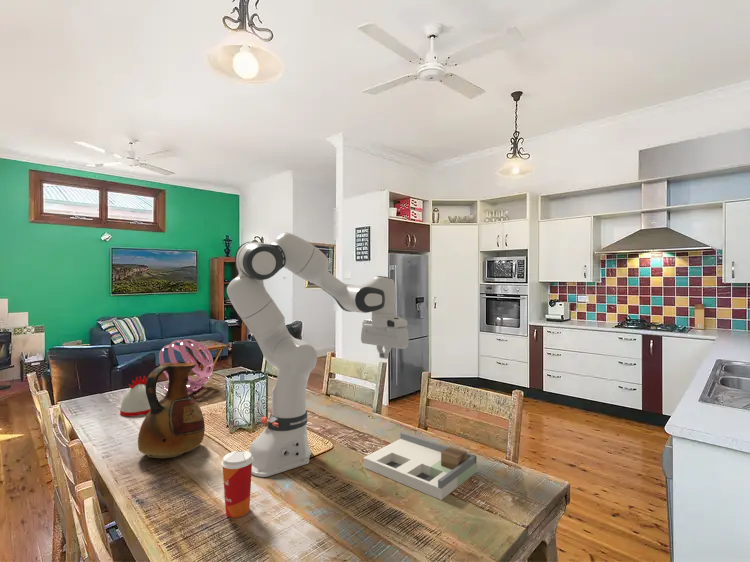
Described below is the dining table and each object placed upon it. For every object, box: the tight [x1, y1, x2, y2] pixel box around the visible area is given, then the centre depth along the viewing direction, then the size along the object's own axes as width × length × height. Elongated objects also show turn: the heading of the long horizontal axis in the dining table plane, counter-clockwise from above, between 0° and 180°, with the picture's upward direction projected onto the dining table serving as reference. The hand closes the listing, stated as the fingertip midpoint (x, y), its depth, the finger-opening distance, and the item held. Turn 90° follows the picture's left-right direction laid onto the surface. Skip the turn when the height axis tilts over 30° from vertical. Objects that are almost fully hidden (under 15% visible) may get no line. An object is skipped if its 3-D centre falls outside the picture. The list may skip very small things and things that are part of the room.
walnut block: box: [441, 446, 468, 470], centre depth 120 cm, size 6×6×4 cm
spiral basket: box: [158, 338, 214, 394], centre depth 206 cm, size 28×28×27 cm
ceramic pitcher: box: [137, 362, 206, 459], centre depth 136 cm, size 20×20×30 cm
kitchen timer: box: [119, 375, 151, 417], centre depth 177 cm, size 14×14×15 cm
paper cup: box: [220, 450, 253, 519], centre depth 101 cm, size 8×8×14 cm
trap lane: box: [362, 431, 477, 501], centre depth 123 cm, size 20×28×5 cm
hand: (383, 358), depth 148 cm, fingers closed
